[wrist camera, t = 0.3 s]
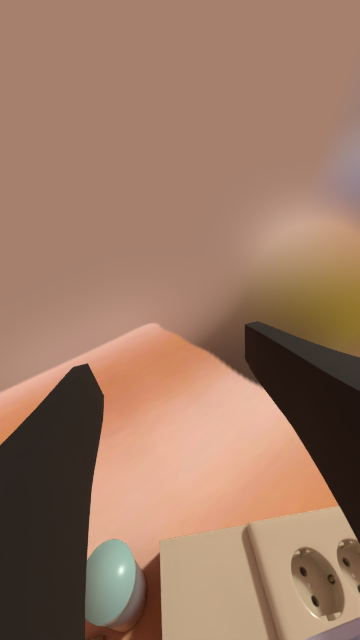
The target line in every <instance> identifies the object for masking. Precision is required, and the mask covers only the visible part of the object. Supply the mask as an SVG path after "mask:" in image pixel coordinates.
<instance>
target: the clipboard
mask: <svg viewBox="0 0 360 640" xmlns="http://www.w3.org/2000/svg"><path fill="white" fill-rule="evenodd" d="M104 636H105V635H102V636H99V637H95V638H92V639H88V640H104Z"/></svg>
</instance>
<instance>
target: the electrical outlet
mask: <svg viewBox="0 0 360 640" xmlns="http://www.w3.org/2000/svg"><path fill="white" fill-rule="evenodd" d="M160 573H161V611H162V640H304V639H307V638H309V637H312V636H314V635H316V634H319V633H321V632H324V631H326V630H329V629H331V628H334V627H336V626H338V625H341V624H343V623H346V622H348V621H351V620H353V619H356V618H358V617H360V544H359V542H358V540H357V538H356V536H355V534H354V533H353V531H352V529H351V527H350V525H349V523H348V521H347V519H346V517H345V516H344V514H343V512H342V510H341V508H340V506H334V507H328V508H323V509H317V510H312V511H306V512H301V513H296V514H290V515H285V516H279V517H274V518H268V519H263V520H258V521H252V522H249V523H248V524H246V525H240V526H235V527H230V528H224V529H219V530H213V531H208V532H202V533H197V534H192V535H186V536H181V537H175V538H170V539H165V540H160Z"/></svg>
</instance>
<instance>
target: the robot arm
mask: <svg viewBox="0 0 360 640" xmlns="http://www.w3.org/2000/svg"><path fill="white" fill-rule="evenodd" d="M245 359H246V361H247V363H248V364H249V366H250V368H251V370H252V372H253V374H254V375H255V377H256V378H257V380H258V381H259V382H260V384H261V385H262V386H263V388H264V389H265V390H266V392H267V393H268V394H269V396H270V397H271V398H272V400H273V401H274V402H275V404H276V405H277V406H278V408H279V409H280V410H281V412H282V413H283V414H284V416H285V417H286V418H287V420H288V421H289V423H290V424H291V425H292V427H293V428H294V430H295V431H296V433H297V435H298V436H299V438H300V440H301V441H302V443H303V444H304V446H305V448H306V449H307V451H308V452H309V454H310V456H311V458H312V459H313V461H314V463H315V464H316V466H317V468H318V469H319V471H320V473H321V474H322V476H323V478H324V480H325V481H326V483H327V485H328V487H329V489H330V490H331V492H332V494H333V496H334V497H335V499H336V501H337V503H338V505H339V506H340V508H341V510H342V512H343V514H344V516H345V517H346V519H347V521H348V523H349V525H350V527H351V529H352V531H353V533H354V534H355V536H356V538H357V540H358V542H359V544H360V358H359V357H356V356H352V355H349V354H345V353H342V352H338V351H335V350H332V349H329V348H326V347H324V346H321V345H318V344H315V343H312V342H309V341H307V340H304V339H301V338H298V337H296V336H293V335H291V334H289V333H286V332H283V331H281V330H279V329H276V328H274V327H271V326H269V325H266V324H263V323H261V322H253V323H249V324H245ZM103 411H104V395H103V393H102V391H101V389H100V387H99V385H98V383H97V381H96V379H95V377H94V375H93V373H92V371H91V369H90V367H89V365H88V364H83V365H79V366H75V367H73V368H72V369H71V370H70V371H69V372H68V373H67V374H66V375H65V376H64V378H63V379H62V380H61V381H60V382H59V383H58V384H57V385H56V387H55V388H54V389H53V390H52V391H51V392H50V393H49V395H48V396H47V397H46V398H45V399H44V400H43V401H42V402H41V403H40V405H39V406H38V407H37V408H36V409H35V410H34V411H33V412H32V413H31V414H30V415H29V416H28V417H27V418H26V419H25V421H24V422H23V423H22V424H21V425H20V426H19V427H18V428H17V429H16V430H15V431H14V432H13V433H12V434H11V435H10V436H9V437H8V438H7V439H6V440H5V441H4V442H3V443H2V444H1V445H0V640H85V594H86V567H87V547H88V530H89V515H90V503H91V490H92V482H93V475H94V469H95V464H96V458H97V452H98V446H99V440H100V434H101V428H102V422H103ZM304 640H360V617H358V618H356V619H353V620H351V621H348V622H346V623H343V624H341V625H338V626H336V627H334V628H331V629H329V630H326V631H324V632H321V633H319V634H316V635H314V636H312V637H309V638H307V639H304Z"/></svg>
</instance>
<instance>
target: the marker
mask: <svg viewBox="0 0 360 640" xmlns="http://www.w3.org/2000/svg"><path fill="white" fill-rule="evenodd" d="M146 599H147V583H146V579H145V576H144V574H143V572H142V570H141V569H140V567H139V565H138V564H137V562H136V561H135V559H134V556H133V554H132V552H131V551H130V549H129V547H128V546H127V545H126V544H125V543H124V542H122V541H120V540H117V539H112V540H108V541H106V542H104V543H102V544H101V545H100V546H98V547H97V548H96V549H95V550H94V552H93V553H92V554H91V556H90V557H89V559H88V560H87V567H86V594H85V619H86V620H87V621H88V622H89V623H91V624H94V625H97V626H102V627H107V628H110V629H112V630H115V631H118V632H126V631H129V630H130V629H132V628H133V627H134V626H135V625H136V624H137V622H138V621H139V619H140V618H141V616H142V613H143V611H144V608H145V604H146Z"/></svg>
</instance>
